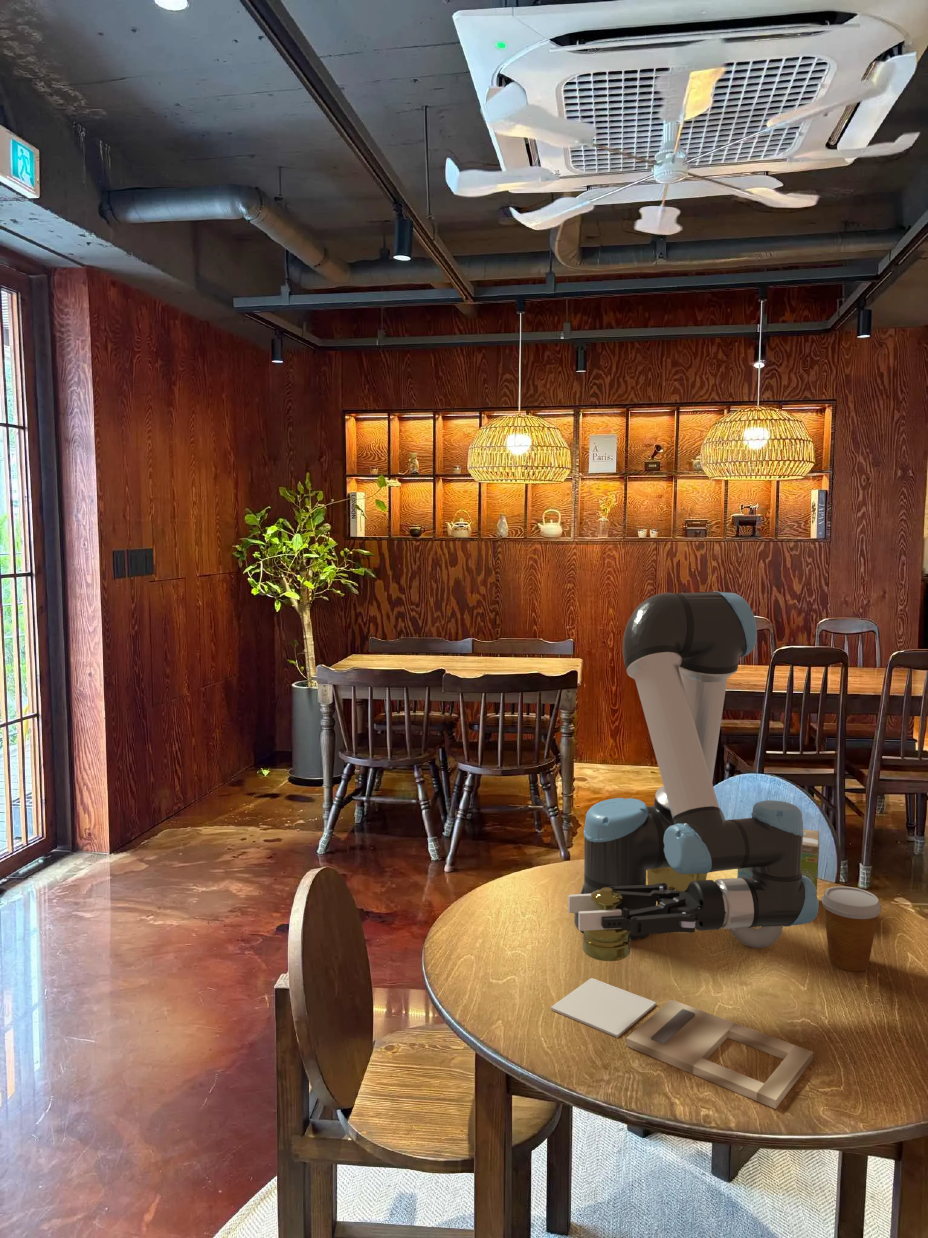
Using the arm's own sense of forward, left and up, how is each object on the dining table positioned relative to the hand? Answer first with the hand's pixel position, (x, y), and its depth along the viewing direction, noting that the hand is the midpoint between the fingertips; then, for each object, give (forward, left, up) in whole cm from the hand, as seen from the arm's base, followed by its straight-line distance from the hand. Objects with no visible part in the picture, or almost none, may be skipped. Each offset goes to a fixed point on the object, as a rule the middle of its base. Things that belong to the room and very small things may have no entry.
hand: (574, 912), depth 136 cm
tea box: (+9, +61, -16) cm, 64 cm away
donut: (+13, +39, -16) cm, 44 cm away
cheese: (-11, +57, -16) cm, 60 cm away
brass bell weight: (+4, +4, -7) cm, 8 cm away
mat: (+3, +4, -16) cm, 17 cm away
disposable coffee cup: (+28, +44, -16) cm, 55 cm away
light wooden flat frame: (+22, +4, -16) cm, 28 cm away
